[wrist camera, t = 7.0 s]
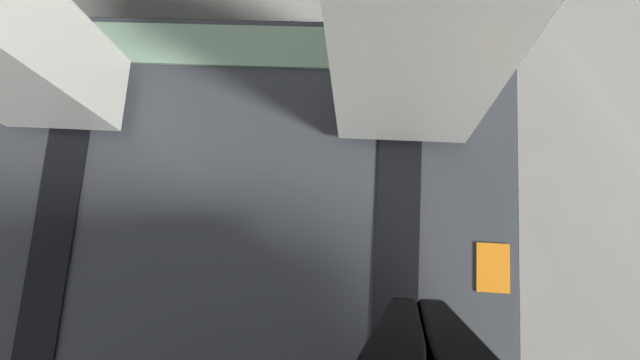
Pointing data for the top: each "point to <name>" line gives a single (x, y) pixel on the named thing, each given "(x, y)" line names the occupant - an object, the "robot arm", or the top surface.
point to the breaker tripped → (424, 63)
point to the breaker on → (58, 68)
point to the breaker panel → (246, 211)
